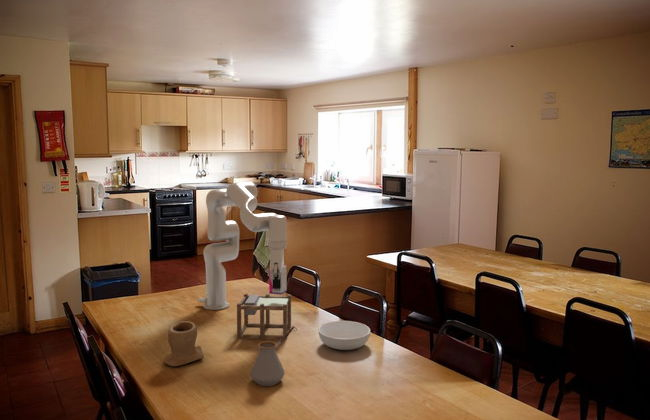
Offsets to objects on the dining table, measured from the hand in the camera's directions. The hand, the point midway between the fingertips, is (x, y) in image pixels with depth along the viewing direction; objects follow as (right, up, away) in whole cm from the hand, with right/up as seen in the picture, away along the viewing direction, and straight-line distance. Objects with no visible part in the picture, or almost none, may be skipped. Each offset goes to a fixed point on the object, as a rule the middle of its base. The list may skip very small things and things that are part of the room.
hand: (277, 285), depth 225 cm
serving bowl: (+28, -23, -12) cm, 38 cm away
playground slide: (-5, -11, +2) cm, 12 cm away
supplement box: (0, -3, 0) cm, 3 cm away
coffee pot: (+3, -26, -40) cm, 48 cm away
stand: (-6, -20, +3) cm, 21 cm away
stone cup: (-31, -24, -29) cm, 49 cm away
